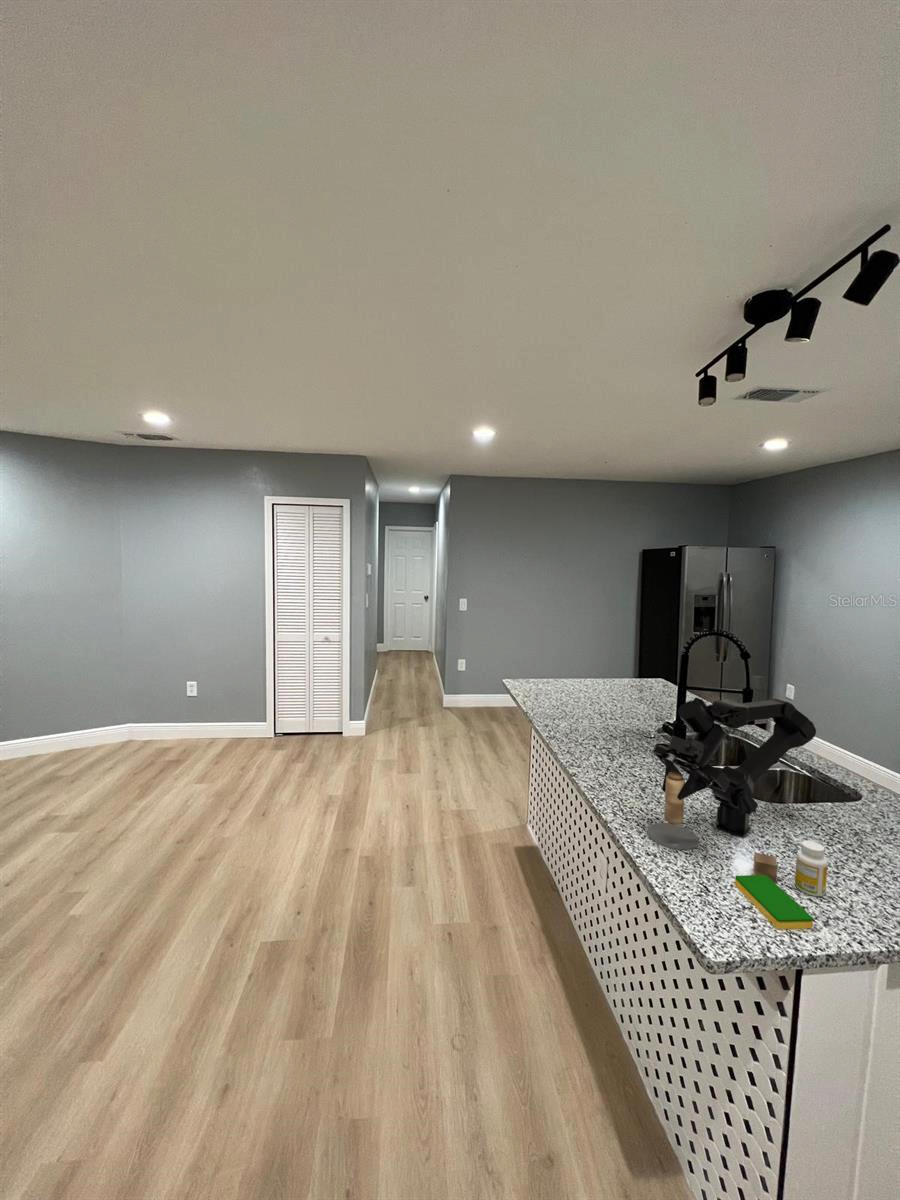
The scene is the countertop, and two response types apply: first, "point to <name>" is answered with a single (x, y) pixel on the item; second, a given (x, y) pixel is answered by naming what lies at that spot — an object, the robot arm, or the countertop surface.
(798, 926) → the dish sponge
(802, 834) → the countertop surface
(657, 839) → the slate coaster
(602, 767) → the countertop surface
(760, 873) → the walnut block
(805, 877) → the supplement bottle
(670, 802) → the brown cylinder
